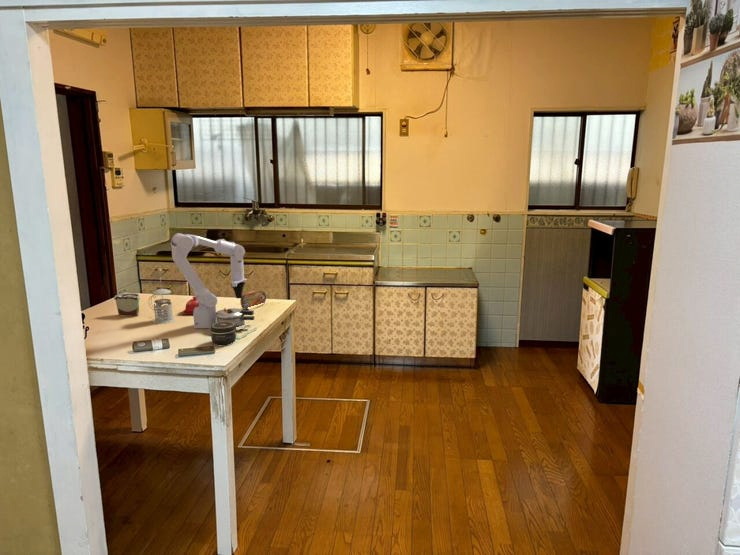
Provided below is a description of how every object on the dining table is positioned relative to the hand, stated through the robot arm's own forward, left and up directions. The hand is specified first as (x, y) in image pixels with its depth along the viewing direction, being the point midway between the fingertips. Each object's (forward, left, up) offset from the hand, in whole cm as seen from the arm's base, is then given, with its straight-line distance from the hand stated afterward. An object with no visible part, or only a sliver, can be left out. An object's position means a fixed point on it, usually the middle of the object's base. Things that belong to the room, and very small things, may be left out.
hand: (239, 298), depth 240 cm
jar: (+1, -31, -11) cm, 33 cm away
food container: (-55, +8, -11) cm, 57 cm away
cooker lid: (+1, -13, -4) cm, 14 cm away
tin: (+2, +20, -11) cm, 23 cm away
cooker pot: (+1, -13, -10) cm, 17 cm away
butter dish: (-25, +12, -11) cm, 29 cm away
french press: (-36, -2, -11) cm, 38 cm away
